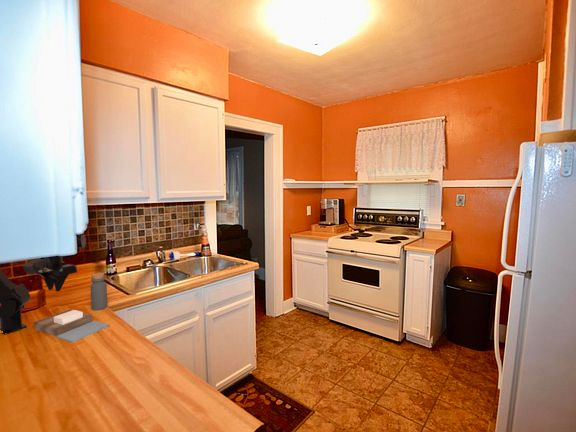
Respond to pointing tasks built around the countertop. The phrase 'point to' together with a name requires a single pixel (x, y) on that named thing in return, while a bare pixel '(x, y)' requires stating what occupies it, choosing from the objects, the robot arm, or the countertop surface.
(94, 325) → the mat
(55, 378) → the countertop surface
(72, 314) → the pale pink rectangular block
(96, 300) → the bottle
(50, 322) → the step
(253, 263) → the countertop surface
